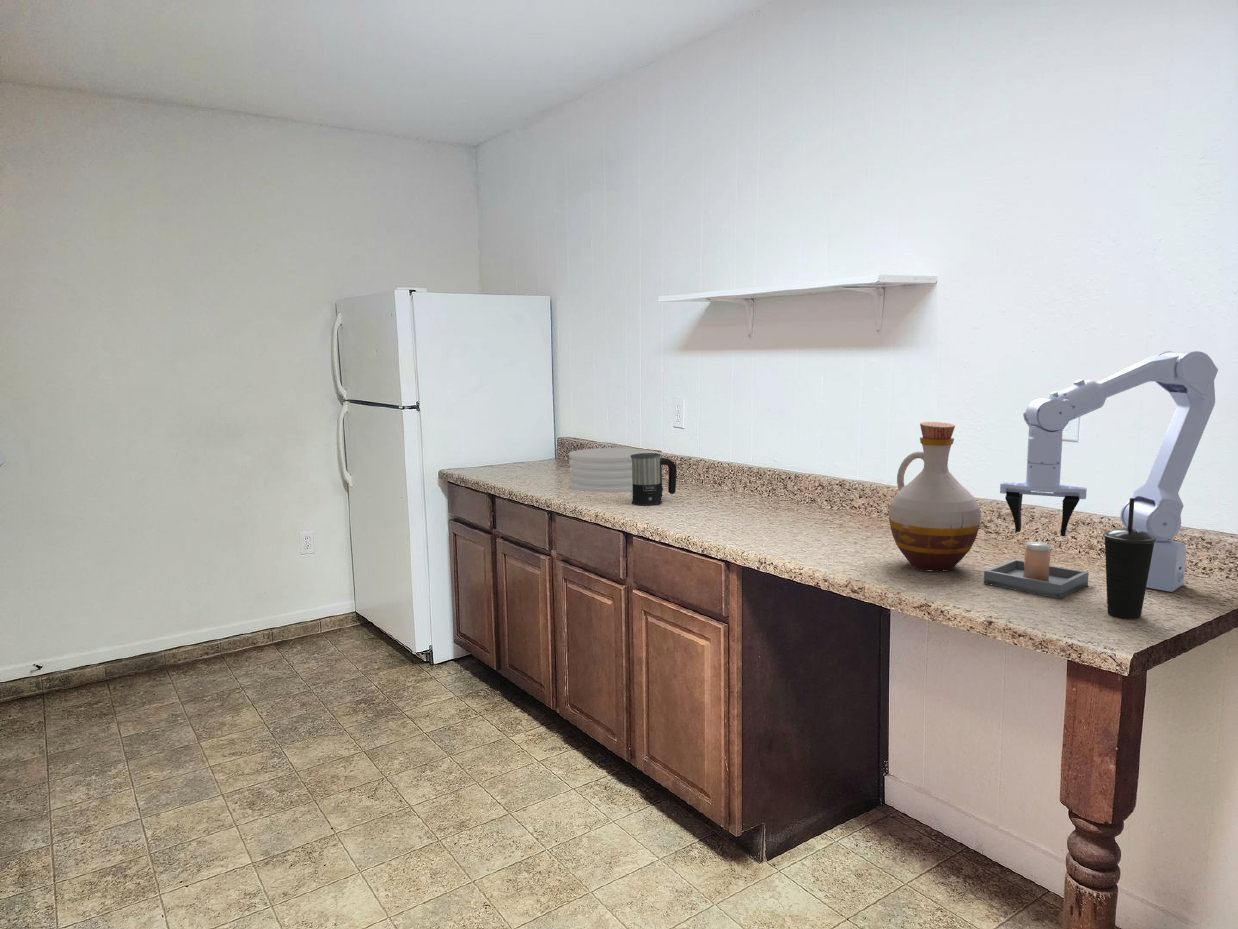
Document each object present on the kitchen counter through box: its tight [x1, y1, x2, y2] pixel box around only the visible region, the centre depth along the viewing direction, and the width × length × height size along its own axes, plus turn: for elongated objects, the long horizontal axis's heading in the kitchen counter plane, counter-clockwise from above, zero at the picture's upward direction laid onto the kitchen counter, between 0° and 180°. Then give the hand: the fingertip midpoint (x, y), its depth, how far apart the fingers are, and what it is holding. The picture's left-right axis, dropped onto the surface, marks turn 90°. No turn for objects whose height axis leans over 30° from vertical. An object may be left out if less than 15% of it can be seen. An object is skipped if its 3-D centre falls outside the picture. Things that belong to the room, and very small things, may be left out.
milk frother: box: [630, 452, 678, 507], centre depth 254 cm, size 14×16×15 cm
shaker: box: [1023, 541, 1052, 582], centre depth 159 cm, size 4×4×7 cm
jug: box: [888, 421, 982, 572], centre depth 173 cm, size 20×18×30 cm
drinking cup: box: [1102, 497, 1157, 620], centre depth 140 cm, size 8×8×20 cm
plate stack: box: [568, 447, 652, 493], centre depth 285 cm, size 28×28×12 cm
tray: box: [983, 558, 1089, 599], centre depth 160 cm, size 14×13×2 cm
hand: (1040, 533), depth 159 cm, fingers open, 7 cm apart
